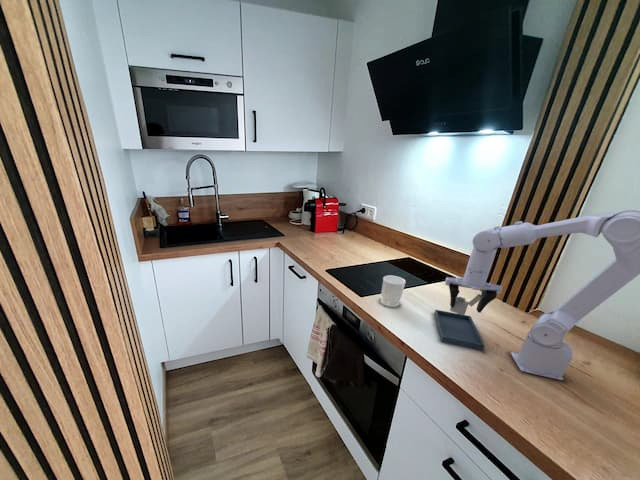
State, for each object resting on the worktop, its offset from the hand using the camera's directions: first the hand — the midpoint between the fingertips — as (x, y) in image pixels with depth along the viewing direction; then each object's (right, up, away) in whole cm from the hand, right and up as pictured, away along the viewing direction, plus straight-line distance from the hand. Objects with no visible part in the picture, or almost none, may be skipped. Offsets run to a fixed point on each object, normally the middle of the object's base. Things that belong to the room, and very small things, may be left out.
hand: (464, 308), depth 90 cm
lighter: (0, -2, +2) cm, 3 cm away
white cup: (-16, -1, +20) cm, 26 cm away
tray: (0, -8, +4) cm, 9 cm away
